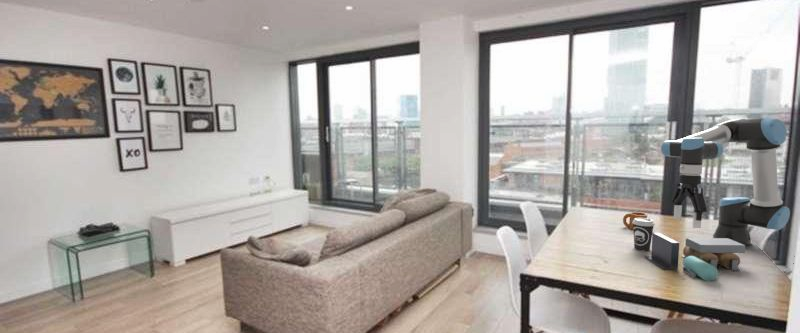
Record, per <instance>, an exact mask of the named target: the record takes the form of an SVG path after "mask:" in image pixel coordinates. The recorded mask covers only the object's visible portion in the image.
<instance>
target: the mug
mask: <svg viewBox="0 0 800 333" xmlns="http://www.w3.org/2000/svg"><path fill="white" fill-rule="evenodd" d="M628 218H629V223H628V222H627V219H628ZM634 218H648V213H645V212H639V211H631V212H629V213H626V214H625V215H624V216H623V218H622V222H623V225H624V226H625V227H626V228H629V229H630V230H633V231H634V229H633V223H632V222H633V220H634Z"/></svg>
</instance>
